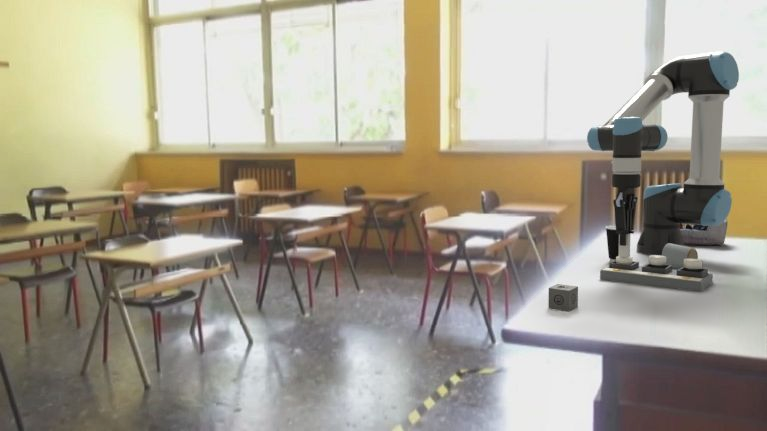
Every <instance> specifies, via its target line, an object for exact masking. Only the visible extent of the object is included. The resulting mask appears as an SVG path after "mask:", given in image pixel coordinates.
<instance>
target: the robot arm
mask: <svg viewBox="0 0 767 431" xmlns="http://www.w3.org/2000/svg"><path fill="white" fill-rule="evenodd" d="M739 72H740V71H739V67H738V64H737V61H736V59H735V57H734V56H733V55H732V54H731V53H729V52H727V51H716V52H715V51H714V52H713V51H712V52H707V53H698V54H691V55H681V56H677V57H675V58H673V59H670V60H668V61H666V62H665V63H663V64H662V65H660V66H658V67H657V68H656V69H655V70H654V71H652V72H651V73H650V74H649V75H648V76H647V77H646V78H645V79H644V84H643V86H641V87H640V88H639V89H638V91H636V92H635V93H634V94H633V95H632V96H631V97H630V99H628V101H626V102H625V104H623V105H622V106H621V107H620V109H618V110H617V111H616V113H614V114H613V115H612V117H611V118H610V119H608V120H607V122H606V123H604V124H603V125H596V126H593V127H591V128H589V130H588V132H587V134H586V135H587V137H586V141H587V142H586V143H587V145H588V146H589V148H590V149H591V150H592V151H596V152H597V151H599V152H612V161H610V164H611V165H612V166H611V167H612V172H613V173H612V175H611V187H613V188H617V193H616V198H615V199H613V206H614V218H615V219H614V221H615V226H616V234H619V253H618V256H619V257H631V235H633V234H634V233H635V231H634V228H635V220H636V219H635V218H636V209H637V208H636V207H637V203H638V196H636V194H635V189H636V188H638V189H639V188H640V187H641V179H642V178H641V177H642V176H641V174H640V172H642V152H655V151H659V150H662V149H663V148H664V147H665V146H666V144H667V142H668V138H669V137H668V132H667V130H666V128H664V127H663V126H662V125H659V124H656V123H655V124H643V121H644V120H645V119H646V118H647V117H648V116H649V115H650V114H651V112H652V111H654V109H655V108H656V107H657V106H659V104H660V103H661V102H662V101H666V100H668V99H670V98H671V96H672V95H673V96H674V95H676V94H680V93H681V94H682V93H687V94H688V96H687V97H688V99H689V100H690V101H691V102H692V120H691V121H692V124H691V140H690V141H691V142H690V144H691V145H690V159H689V160H690V162H689V177H688V179H687V180H685V181H684V182H683V185H682V183H681V182H680V183H678V182H677V183H668V184H667V183H666V184H656V185H647V186H646V187H645V188H644V191H643V198H642V202H643V203H642V204H643V206H642V208H643V209H642V229H641V233H640V236H639V238H638V240H637V244H636V252H637V253H641V254H645V255H649V256H651V255H660V256H662V251H663V248H664V246H665V245H666V244H668V243H671V244H676V245H681V246H686V245H685V244H684V241H683V238H682V235H681V232H680V223H682V224H685V225H687V224H690V225H703V226H718V225H720V224H722V223H723V222H724V221H725V219H727V218H728V216H729V214H730V212H731V209H732V202H733V201H732V200H733V199H732V196H731V195H732V194H731V192H730V191H729V190H727V189H726V188H725V182H724V181H723V180H721V178H720V176H721V175H720V173H721V157H722V156H721V155H722V140H723V139H722V137H723V120H724V119H723V118H724V117H723V116H724V104H725V103H724V102H725V101H726V100H727V99H729V97H730V91H732V90H734V89H735V88H736V87H737V85H738V82H739V80H740V79H739V78H740V73H739Z"/></svg>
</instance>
